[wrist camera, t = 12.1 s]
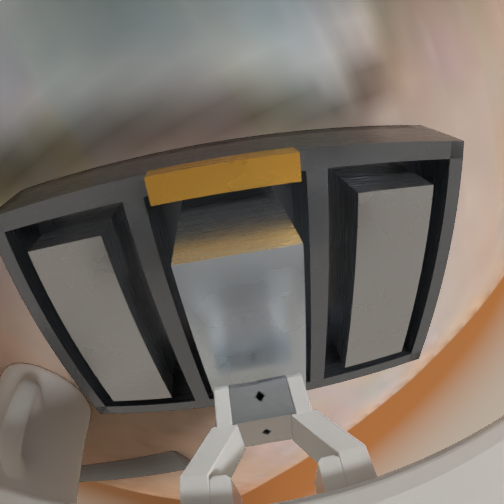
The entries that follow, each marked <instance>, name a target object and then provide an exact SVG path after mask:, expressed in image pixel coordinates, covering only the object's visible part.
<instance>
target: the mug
mask: <svg viewBox="0 0 504 504" xmlns="http://www.w3.org/2000/svg"><path fill="white" fill-rule="evenodd" d="M90 416H91V409H90V405H89V403H88V401H87V399H86V398H85V396H84V395H83V394H82V393H81V392H80V391H79V390H78V389H77V388H76V387H75V386H74V385H72V384H71V383H70V382H68V381H67V380H65V379H64V378H62V377H61V376H59V375H57V374H55V373H53V372H51V371H49V370H47V369H44V368H41V367H39V366H35V365H31V364H26V363H16V364H12V365H9V366H8V367H6V369H5V370H4V371H3V373H2V375H1V377H0V486H3V487H6V488H9V489H13V490H16V491H20V492H24V493H27V494H31V495H35V496H39V497H44V498H48V499H53V500H58V501H63V502H68V503H74V504H76V502H77V493H78V485H79V478H80V471H81V464H82V457H83V451H84V445H85V440H86V435H87V431H88V426H89V421H90Z"/></svg>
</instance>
